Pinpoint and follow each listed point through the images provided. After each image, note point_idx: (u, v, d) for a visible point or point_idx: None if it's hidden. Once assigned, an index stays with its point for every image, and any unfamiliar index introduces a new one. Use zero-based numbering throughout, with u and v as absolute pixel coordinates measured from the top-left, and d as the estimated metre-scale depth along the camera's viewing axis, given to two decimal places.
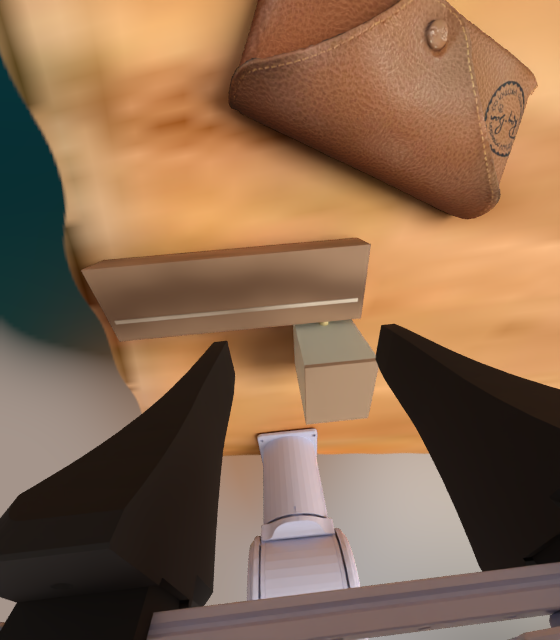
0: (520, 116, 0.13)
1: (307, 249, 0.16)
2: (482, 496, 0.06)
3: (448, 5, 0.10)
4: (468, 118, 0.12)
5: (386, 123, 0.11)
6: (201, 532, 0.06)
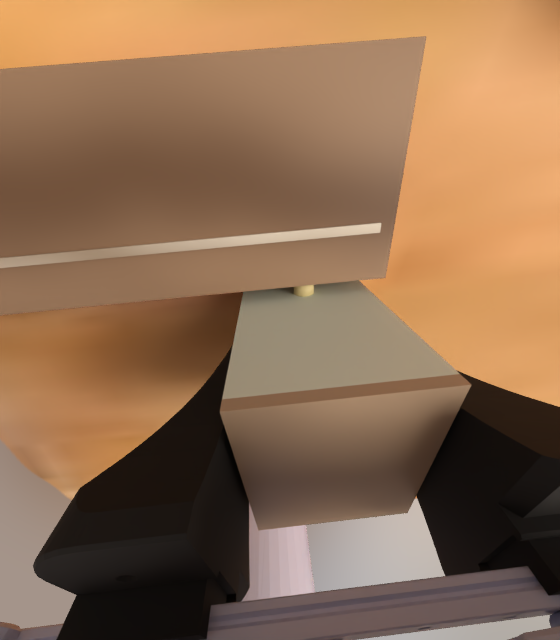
0: None
1: None
2: (443, 500, 0.06)
3: None
4: None
5: None
6: (240, 527, 0.06)
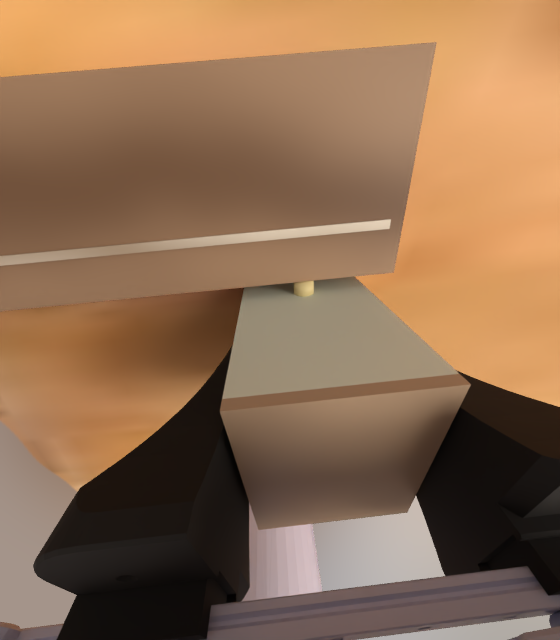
0: None
1: (261, 60, 0.06)
2: (443, 500, 0.06)
3: None
4: None
5: None
6: (240, 527, 0.06)
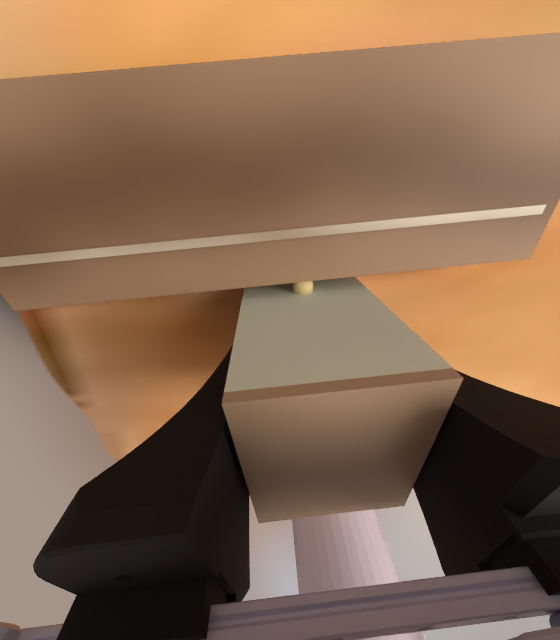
0: None
1: (468, 44, 0.06)
2: (444, 500, 0.06)
3: None
4: None
5: None
6: (240, 527, 0.06)
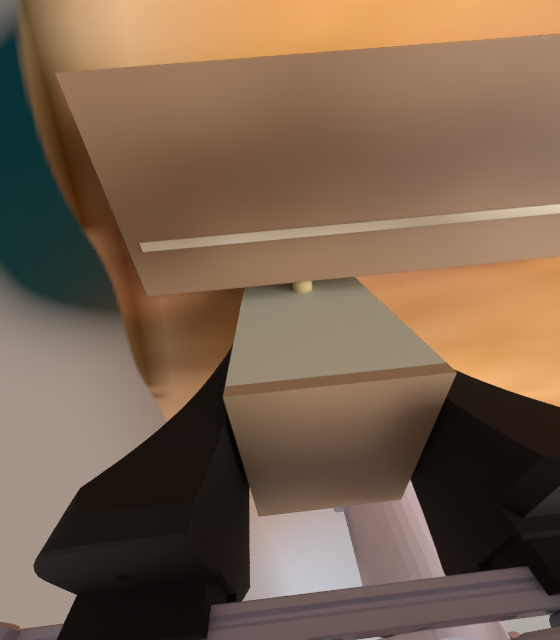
0: None
1: None
2: (443, 500, 0.06)
3: None
4: None
5: None
6: (240, 527, 0.06)
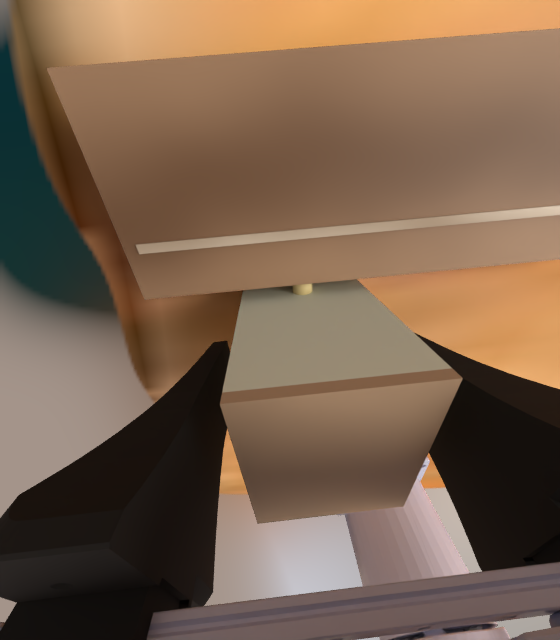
0: None
1: None
2: (482, 496, 0.06)
3: None
4: None
5: None
6: (201, 532, 0.06)
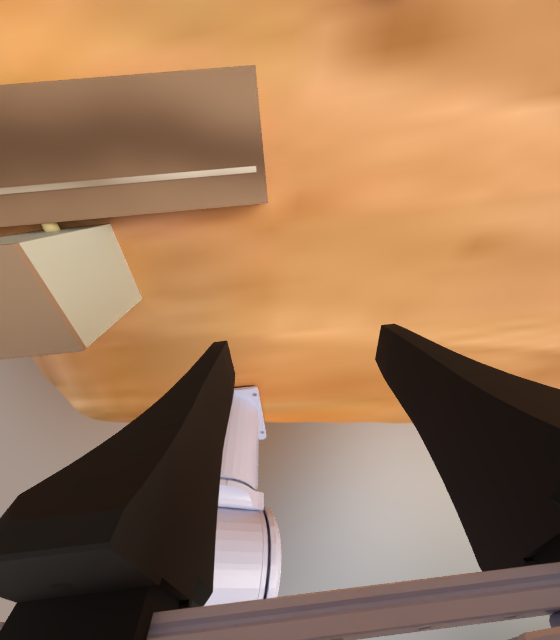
0: None
1: (165, 74, 0.11)
2: (482, 495, 0.06)
3: None
4: None
5: None
6: (201, 532, 0.06)
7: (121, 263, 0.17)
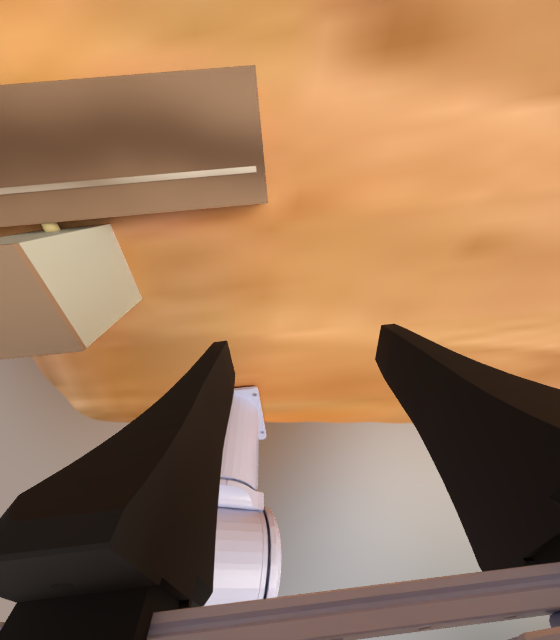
0: None
1: (165, 74, 0.11)
2: (482, 495, 0.06)
3: None
4: None
5: None
6: (201, 532, 0.06)
7: (121, 263, 0.17)
